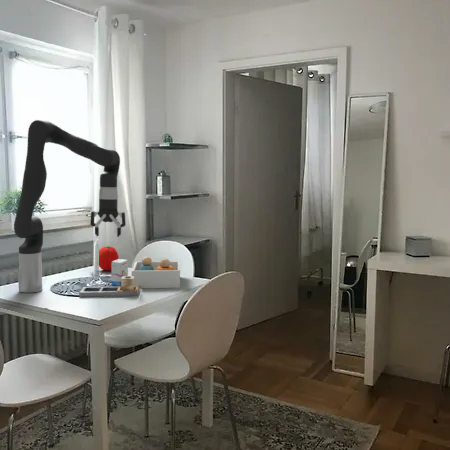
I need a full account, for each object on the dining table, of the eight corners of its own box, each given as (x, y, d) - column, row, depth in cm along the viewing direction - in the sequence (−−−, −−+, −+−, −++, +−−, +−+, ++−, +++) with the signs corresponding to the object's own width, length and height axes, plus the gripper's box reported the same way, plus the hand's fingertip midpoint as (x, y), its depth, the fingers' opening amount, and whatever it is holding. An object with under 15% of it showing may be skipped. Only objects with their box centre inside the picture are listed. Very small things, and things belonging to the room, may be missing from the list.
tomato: (121, 268, 278) (120, 244, 276) (116, 272, 265) (116, 247, 264) (99, 268, 277) (99, 244, 276) (94, 272, 265) (93, 247, 264)
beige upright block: (121, 295, 216) (121, 278, 215) (122, 292, 221) (122, 275, 220) (133, 294, 216) (133, 278, 215) (134, 291, 221) (134, 275, 220)
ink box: (121, 287, 233) (120, 262, 232) (111, 287, 234) (110, 261, 233) (128, 283, 241) (128, 259, 240) (118, 283, 242) (118, 258, 241)
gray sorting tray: (79, 299, 212) (79, 292, 211) (83, 293, 222) (83, 286, 221) (137, 298, 214) (137, 291, 214) (139, 292, 224) (139, 285, 224)
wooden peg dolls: (182, 278, 253) (182, 254, 251) (169, 286, 236) (169, 260, 235) (149, 276, 258) (148, 252, 256) (134, 284, 241) (133, 258, 240)
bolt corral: (131, 288, 232) (131, 271, 231) (135, 277, 255) (135, 261, 254) (180, 287, 234) (180, 270, 233) (179, 276, 257) (179, 261, 256)
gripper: (89, 198, 208) (89, 237, 210) (124, 199, 209) (124, 237, 211) (92, 196, 215) (92, 234, 217) (126, 197, 217) (125, 235, 219)
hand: (108, 236), depth 214 cm, fingers open, 8 cm apart
